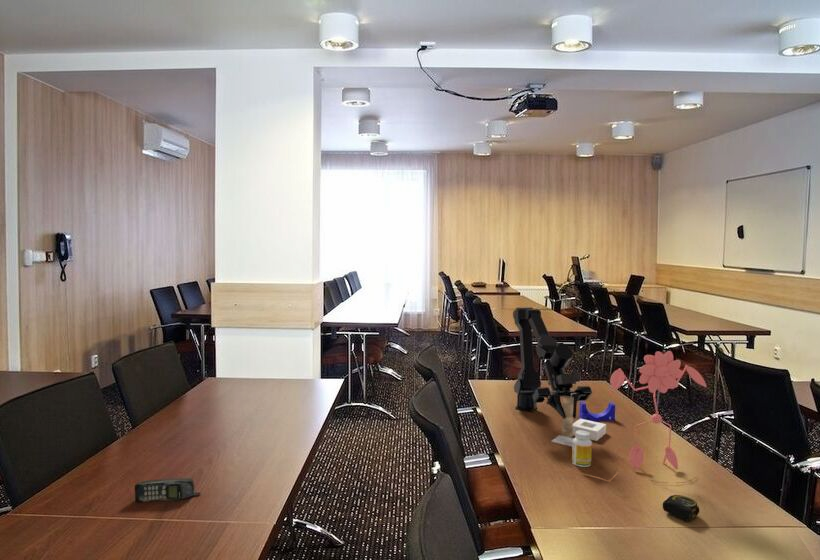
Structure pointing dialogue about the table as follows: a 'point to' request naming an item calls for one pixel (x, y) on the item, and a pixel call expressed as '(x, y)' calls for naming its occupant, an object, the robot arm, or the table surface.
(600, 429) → the block
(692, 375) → the figurine
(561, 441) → the mat
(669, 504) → the tape measure
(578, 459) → the supplement bottle
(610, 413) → the cable clip
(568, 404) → the peg
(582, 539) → the table surface
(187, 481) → the mobile phone
